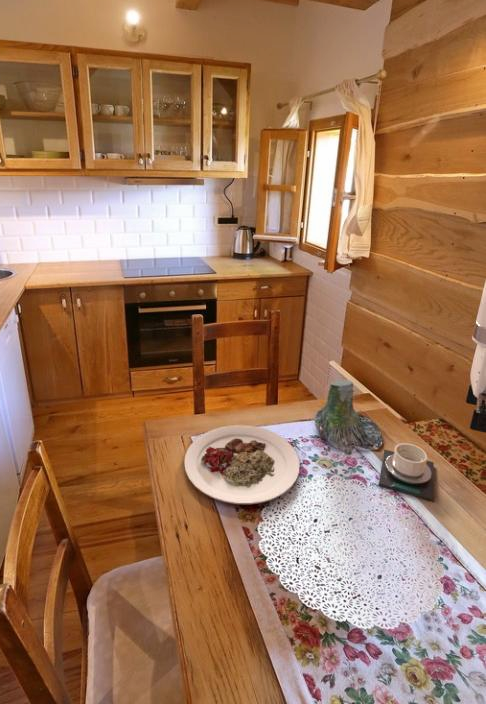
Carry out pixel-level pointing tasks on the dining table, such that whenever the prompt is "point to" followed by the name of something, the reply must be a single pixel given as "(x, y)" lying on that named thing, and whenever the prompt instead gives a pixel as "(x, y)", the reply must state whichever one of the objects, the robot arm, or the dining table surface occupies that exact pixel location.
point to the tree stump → (346, 421)
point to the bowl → (409, 459)
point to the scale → (414, 490)
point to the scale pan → (405, 478)
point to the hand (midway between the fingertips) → (476, 416)
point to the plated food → (241, 464)
